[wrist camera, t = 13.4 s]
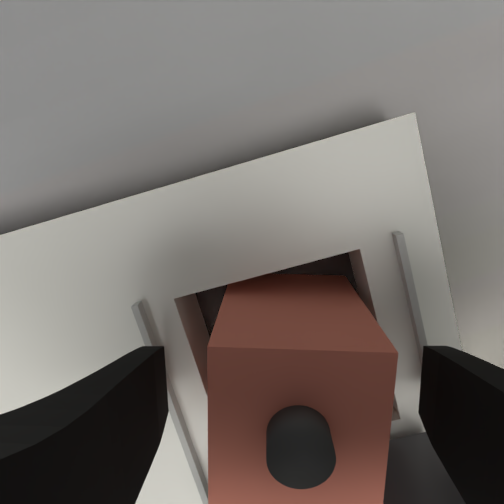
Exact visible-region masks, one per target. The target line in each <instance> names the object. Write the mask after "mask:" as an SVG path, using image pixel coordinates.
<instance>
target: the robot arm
mask: <svg viewBox="0 0 504 504" xmlns="http://www.w3.org/2000/svg"><path fill="white" fill-rule="evenodd" d="M168 412H169V409H168V394H167V380H166V366H165V352H164V346H142V347H139V348H137V349H135V350H133V351H131V352H129V353H127V354H126V355H124V356H122V357H120V358H119V359H117V360H115V361H113V362H112V363H110V364H108V365H106V366H105V367H103V368H101V369H99V370H98V371H96V372H94V373H92V374H90V375H88V376H87V377H85V378H83V379H81V380H79V381H77V382H75V383H73V384H71V385H69V386H67V387H65V388H64V389H62V390H59V391H57V392H55V393H53V394H51V395H49V396H46V397H44V398H42V399H40V400H37V401H35V402H32V403H30V404H27V405H25V406H23V407H20V408H17V409H15V410H12V411H9V412H6V413H3V414H0V504H135V503H136V500H137V498H138V496H139V493H140V491H141V489H142V486H143V484H144V481H145V479H146V477H147V474H148V472H149V470H150V467H151V465H152V462H153V460H154V457H155V455H156V453H157V450H158V448H159V445H160V442H161V439H162V435H163V432H164V428H165V424H166V420H167V416H168ZM418 413H419V416H420V418H421V421H422V423H423V426H424V428H425V431H426V433H427V436H428V438H429V440H430V442H431V445H432V447H433V449H434V450H435V452H436V454H437V456H438V457H439V459H440V461H441V463H442V464H443V466H444V468H445V470H446V471H447V473H448V475H449V476H450V478H451V480H452V481H453V483H454V485H455V487H456V488H457V490H458V492H459V493H460V495H461V497H462V498H463V500H464V502H465V503H466V504H504V369H502V368H500V367H497V366H495V365H493V364H491V363H489V362H486V361H484V360H482V359H480V358H477V357H475V356H473V355H470V354H468V353H466V352H463V351H461V350H458V349H455V348H453V347H449V346H423V357H422V370H421V383H420V396H419V410H418Z"/></svg>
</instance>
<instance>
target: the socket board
mask: <svg viewBox="0 0 504 504" xmlns="http://www.w3.org/2000/svg"><path fill="white" fill-rule="evenodd" d="M346 252H348V253H349V257H350V261H351V265H352V270H353V274H354V278H355V282H356V286H357V290H358V294H359V297H360V298H361V300H362V301H363V302H364V304H365V305H366V307H367V308H368V310H369V311H370V313H371V314H372V315H373V317H374V318H375V320H376V321H377V323H378V324H379V326H380V327H381V328H382V330H383V331H384V333H385V334H386V336H387V337H388V339H389V340H390V341H391V343H392V344H393V346H394V347H395V349H396V350H397V352H398V362H397V372H396V382H395V392H394V401H393V411H392V421H391V431H390V440H391V439H396V438H400V437H405V436H409V435H414V434H418V433H423V432H426V431H425V428H424V426H423V423H422V421H421V418H420V416H419V413H418V410H419V396H420V383H421V370H422V357H423V346H449V347H453V348H455V349H458V350H461V351H462V347H461V342H460V337H459V332H458V327H457V322H456V317H455V312H454V307H453V302H452V297H451V292H450V287H449V282H448V277H447V272H446V266H445V261H444V256H443V251H442V246H441V241H440V236H439V231H438V226H437V221H436V216H435V211H434V206H433V201H432V196H431V191H430V186H429V180H428V175H427V170H426V165H425V160H424V155H423V150H422V145H421V140H420V135H419V130H418V125H417V120H416V115H415V112H413V113H410V114H406V115H403V116H400V117H396V118H393V119H390V120H386V121H383V122H380V123H376V124H373V125H369V126H366V127H363V128H359V129H356V130H353V131H349V132H346V133H342V134H339V135H336V136H332V137H329V138H326V139H322V140H319V141H315V142H312V143H309V144H305V145H302V146H299V147H295V148H292V149H288V150H285V151H282V152H278V153H275V154H272V155H268V156H265V157H261V158H258V159H255V160H251V161H248V162H245V163H241V164H238V165H235V166H231V167H228V168H224V169H221V170H218V171H214V172H211V173H208V174H204V175H201V176H197V177H194V178H191V179H187V180H184V181H181V182H177V183H174V184H170V185H167V186H164V187H160V188H157V189H154V190H150V191H147V192H143V193H140V194H137V195H133V196H130V197H127V198H123V199H120V200H117V201H113V202H110V203H106V204H103V205H100V206H96V207H93V208H90V209H86V210H83V211H79V212H76V213H73V214H69V215H66V216H63V217H59V218H56V219H52V220H49V221H46V222H42V223H39V224H36V225H32V226H29V227H25V228H22V229H19V230H15V231H12V232H9V233H5V234H2V235H0V414H3V413H6V412H9V411H12V410H15V409H17V408H20V407H23V406H25V405H27V404H30V403H32V402H35V401H37V400H40V399H42V398H44V397H46V396H49V395H51V394H53V393H55V392H57V391H59V390H62V389H64V388H65V387H67V386H69V385H71V384H73V383H75V382H77V381H79V380H81V379H83V378H85V377H87V376H88V375H90V374H92V373H94V372H96V371H98V370H99V369H101V368H103V367H105V366H106V365H108V364H110V363H112V362H113V361H115V360H117V359H119V358H120V357H122V356H124V355H126V354H127V353H129V352H131V351H133V350H135V349H137V348H139V347H142V346H164V352H165V366H166V380H167V394H168V409H169V412H168V416H167V420H166V424H165V428H164V432H163V435H162V439H161V442H160V445H159V448H158V450H157V453H156V455H155V457H154V460H153V462H152V465H151V467H150V470H149V472H148V474H147V477H146V479H145V481H144V484H143V486H142V489H141V491H140V493H139V496H138V498H137V500H136V503H135V504H208V397H207V346H208V343H209V340H210V336H209V333H208V330H207V327H206V324H205V321H204V318H203V315H202V312H201V309H200V306H199V303H198V300H197V297H196V294H195V293H197V292H201V291H205V290H208V289H212V288H216V287H220V286H223V285H227V284H231V283H235V282H238V281H242V280H246V279H249V278H253V277H257V276H261V275H264V274H268V273H272V272H276V271H279V270H283V269H287V268H290V267H294V266H298V265H302V264H305V263H309V262H313V261H317V260H320V259H324V258H328V257H331V256H335V255H339V254H343V253H346Z"/></svg>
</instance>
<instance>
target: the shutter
mask: <svg viewBox="0 0 504 504" xmlns="http://www.w3.org/2000/svg"><path fill="white" fill-rule="evenodd" d="M383 504H466V503H465V502H464V500H463V498H462V497H461V495H460V493H459V492H458V490H457V488H456V487H455V485H454V483H453V481H452V480H451V478H450V476H449V475H448V473H447V471H446V470H445V468H444V466H443V464H442V463H441V461H440V459H439V457H438V456H437V454H436V452H435V450H434V449H433V447H432V445H431V442H430V440H429V438H428V436H427V433H426V432H423V433H418V434H414V435H409V436H405V437H400V438H396V439H391V440H390V441H389V450H388V460H387V470H386V480H385V490H384V499H383Z"/></svg>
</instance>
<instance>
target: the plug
mask: <svg viewBox="0 0 504 504" xmlns="http://www.w3.org/2000/svg"><path fill="white" fill-rule="evenodd" d="M397 362H398V352H397V350H396V349H395V347H394V346H393V344H392V343H391V341H390V340H389V339H388V337H387V336H386V334H385V333H384V331H383V330H382V328H381V327H380V326H379V324H378V323H377V321H376V320H375V318H374V317H373V315H372V314H371V313H370V311H369V310H368V308H367V307H366V305H365V304H364V302H363V301H362V300H361V298H360V297H359V295H358V294H357V292H356V291H355V289H354V288H353V287H352V285H351V284H350V282H349V281H348V279H347V278H346V276H343V275H305V274H264V275H261V276H257V277H253V278H249V279H246V280H242V281H238V282H235V283H231V284H228V285H227V288H226V291H225V294H224V297H223V300H222V303H221V306H220V309H219V312H218V315H217V318H216V321H215V324H214V327H213V330H212V333H211V337H210V340H209V343H208V346H207V397H208V504H383V499H384V490H385V480H386V470H387V460H388V450H389V441H390V431H391V421H392V411H393V401H394V392H395V382H396V372H397Z"/></svg>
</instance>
